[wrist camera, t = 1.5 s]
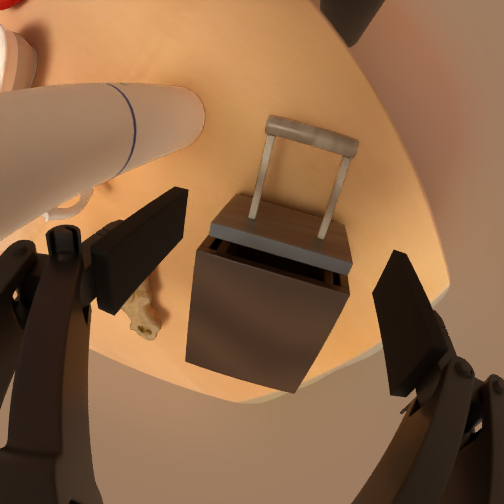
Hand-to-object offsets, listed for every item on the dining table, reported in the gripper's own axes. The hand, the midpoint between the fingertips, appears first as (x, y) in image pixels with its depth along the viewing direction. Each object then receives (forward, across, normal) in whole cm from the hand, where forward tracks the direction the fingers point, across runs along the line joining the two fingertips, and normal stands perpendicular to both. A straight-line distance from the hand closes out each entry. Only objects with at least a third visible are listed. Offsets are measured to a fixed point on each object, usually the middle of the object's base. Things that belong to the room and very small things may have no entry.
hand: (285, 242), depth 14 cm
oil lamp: (+16, -17, -20) cm, 31 cm away
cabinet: (+16, 0, -13) cm, 20 cm away
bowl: (+16, -44, +9) cm, 48 cm away
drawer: (+15, 0, -6) cm, 16 cm away
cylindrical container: (+16, -14, +3) cm, 22 cm away
